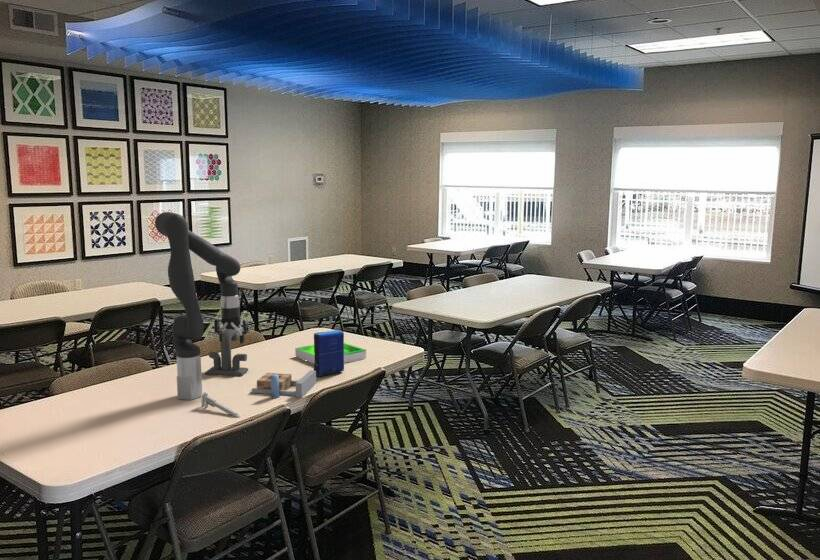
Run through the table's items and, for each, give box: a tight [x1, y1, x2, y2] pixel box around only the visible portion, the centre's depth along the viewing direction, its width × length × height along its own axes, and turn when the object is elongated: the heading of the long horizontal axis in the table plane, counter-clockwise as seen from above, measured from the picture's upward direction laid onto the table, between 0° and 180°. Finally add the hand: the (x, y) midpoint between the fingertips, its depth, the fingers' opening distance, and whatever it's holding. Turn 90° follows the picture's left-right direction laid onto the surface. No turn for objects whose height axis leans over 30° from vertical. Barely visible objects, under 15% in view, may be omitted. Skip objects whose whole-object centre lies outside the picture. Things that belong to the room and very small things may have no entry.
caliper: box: [200, 391, 241, 418], centre depth 245 cm, size 20×1×6 cm, turn 57°
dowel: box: [270, 374, 280, 399], centre depth 261 cm, size 3×3×9 cm
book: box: [313, 329, 345, 377], centre depth 291 cm, size 14×5×20 cm, turn 126°
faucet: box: [204, 329, 249, 377], centre depth 296 cm, size 18×16×20 cm
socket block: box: [256, 372, 293, 391], centre depth 272 cm, size 11×11×4 cm
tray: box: [294, 342, 367, 364], centre depth 319 cm, size 25×25×5 cm
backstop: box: [251, 369, 317, 399], centre depth 271 cm, size 18×22×6 cm
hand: (232, 343), depth 273 cm, fingers open, 8 cm apart
